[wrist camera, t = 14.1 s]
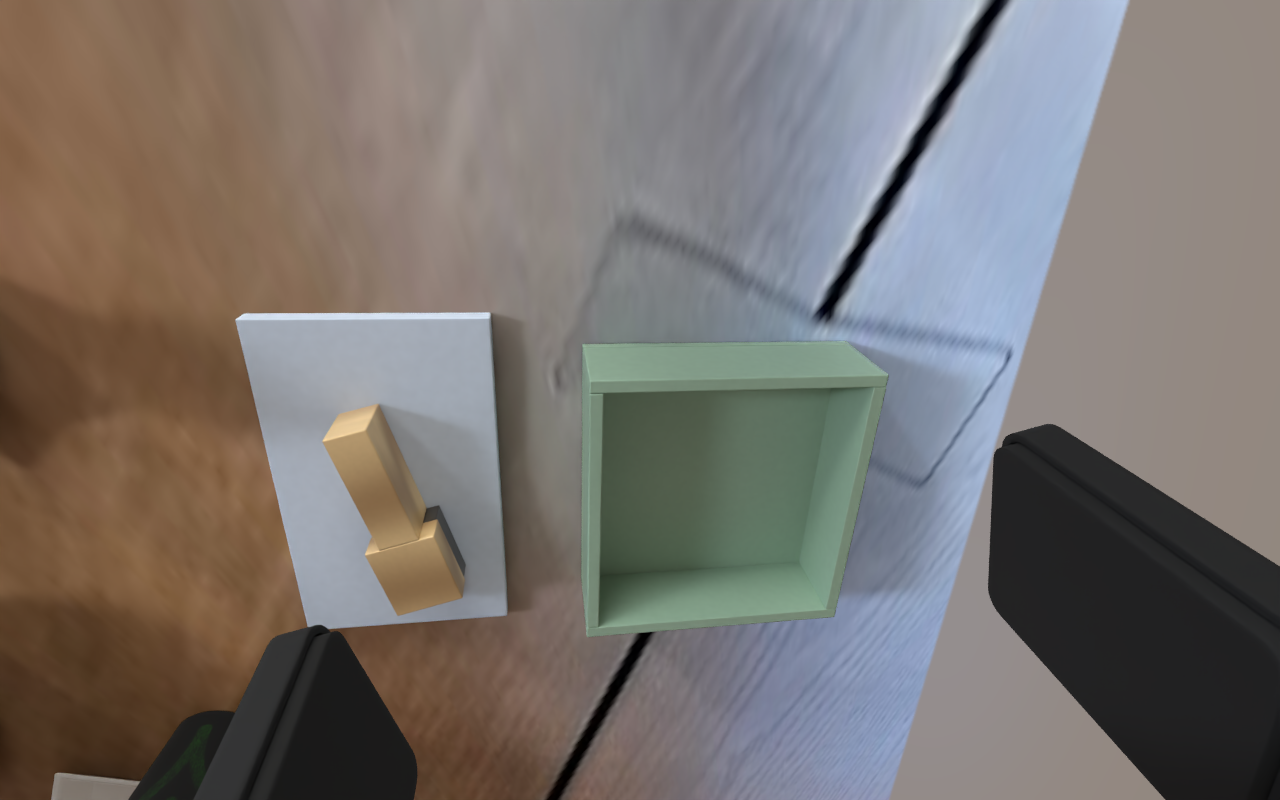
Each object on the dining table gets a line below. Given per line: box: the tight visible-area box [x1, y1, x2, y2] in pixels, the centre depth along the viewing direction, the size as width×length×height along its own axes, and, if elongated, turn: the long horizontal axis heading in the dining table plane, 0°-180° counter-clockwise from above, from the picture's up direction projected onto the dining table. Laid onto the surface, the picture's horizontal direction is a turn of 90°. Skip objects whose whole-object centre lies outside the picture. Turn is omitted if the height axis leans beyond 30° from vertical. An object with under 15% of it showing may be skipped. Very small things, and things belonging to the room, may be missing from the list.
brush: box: [322, 404, 466, 616], centre depth 35 cm, size 12×4×3 cm, turn 13°
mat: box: [236, 313, 508, 629], centre depth 36 cm, size 20×12×1 cm, turn 178°
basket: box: [581, 341, 888, 637], centre depth 37 cm, size 16×15×5 cm
